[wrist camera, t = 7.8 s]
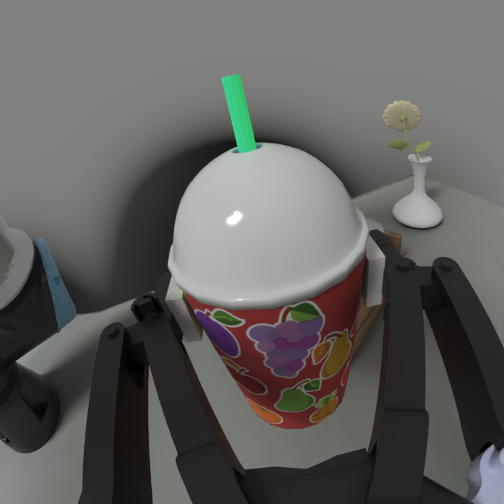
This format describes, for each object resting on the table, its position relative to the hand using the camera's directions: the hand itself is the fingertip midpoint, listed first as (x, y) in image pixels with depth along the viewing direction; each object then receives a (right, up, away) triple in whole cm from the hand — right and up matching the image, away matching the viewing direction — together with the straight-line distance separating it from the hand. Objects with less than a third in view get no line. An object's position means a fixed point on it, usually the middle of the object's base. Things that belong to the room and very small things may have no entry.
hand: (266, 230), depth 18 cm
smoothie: (+3, -12, +2) cm, 12 cm away
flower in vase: (+34, +6, +39) cm, 51 cm away
